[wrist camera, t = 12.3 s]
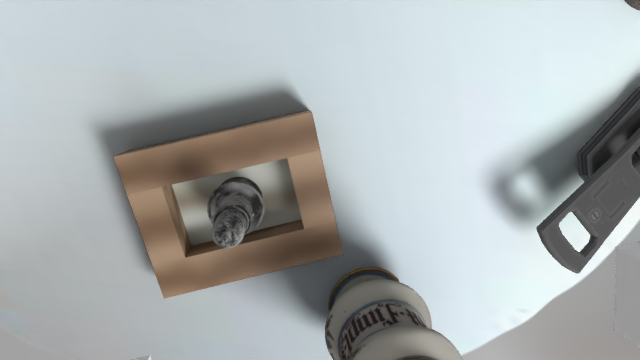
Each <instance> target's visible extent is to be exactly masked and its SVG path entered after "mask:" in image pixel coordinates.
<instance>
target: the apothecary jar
mask: <svg viewBox="0 0 640 360" xmlns="http://www.w3.org/2000/svg"><path fill="white" fill-rule="evenodd" d="M325 339H326V345H327V348H328V351H329V353H330V355H331V357H332V358H333V360H463V359H462V357H461V355H460V353H459V352H458V350H457V349H456V347H455V346H454V345H453V344H452V343H451V342H450V341H449V340H448V339H447V338H446V337H444V336H443V335H442V334H440V333H438V332H437V331H434V330H432V323H431V316H430V312H429V310H428V307H427V305H426V303H425V302H424V300H423V299H422V298H421V296H420V295H419V294H418V293H417V292H415V291H414V290H413V289H412V288H410V287H408V286H407V285H405V284H402V283H400V282H399V280H398V279H397V278H396V277H395V276H394V275H393V274H391V273H390V272H388V271H386V270H383V269H379V268H362V269H358V270H355V271H353V272H351V273H349V274H347V275H346V276H345V277H343V278H342V279H341V280H340V281H339V282H338V283H337V285H336V286H335V287H334V289H333V291H332V293H331V296H330V300H329V315H328V318H327V321H326V326H325Z"/></svg>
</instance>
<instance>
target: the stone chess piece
mask: <svg viewBox="0 0 640 360" xmlns="http://www.w3.org/2000/svg"><path fill="white" fill-rule="evenodd" d="M264 208H265V207H264V202H263V196H262V192H261V190H260V188H259V186H258V185H257V184H256V183H255V182H253V181H252V180H250V179H248V178H245V177H233V178H230V179H228V180H225V181H224V182H223V183H222V184H221V185H220V186H219V187H218V188H216V189H215V190H214V191H213V193H212V194H211V196H210V197H209V200H208V203H207V213H208V217H209V219H210V221H211V223H212V225H213V228H212V238H213V240H214V242H215V243H216V244H217V245H218V246H220V247H223V248H232V247H235V246H237V245H238V244H239V243H240V242H241V241H242V239H243V237H244V235H245V234H247V233H250V232H252V231H253V230H254V229H256V228H257V227H258V226H259V224H260V223H261V221H262V219H263V216H264Z"/></svg>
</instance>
